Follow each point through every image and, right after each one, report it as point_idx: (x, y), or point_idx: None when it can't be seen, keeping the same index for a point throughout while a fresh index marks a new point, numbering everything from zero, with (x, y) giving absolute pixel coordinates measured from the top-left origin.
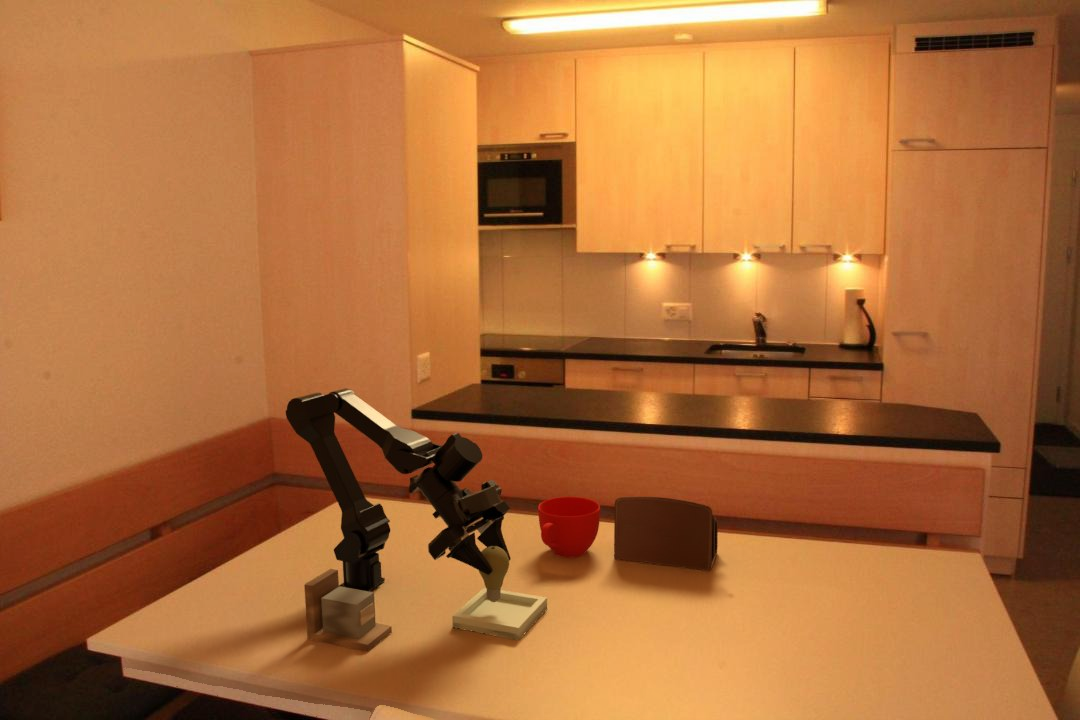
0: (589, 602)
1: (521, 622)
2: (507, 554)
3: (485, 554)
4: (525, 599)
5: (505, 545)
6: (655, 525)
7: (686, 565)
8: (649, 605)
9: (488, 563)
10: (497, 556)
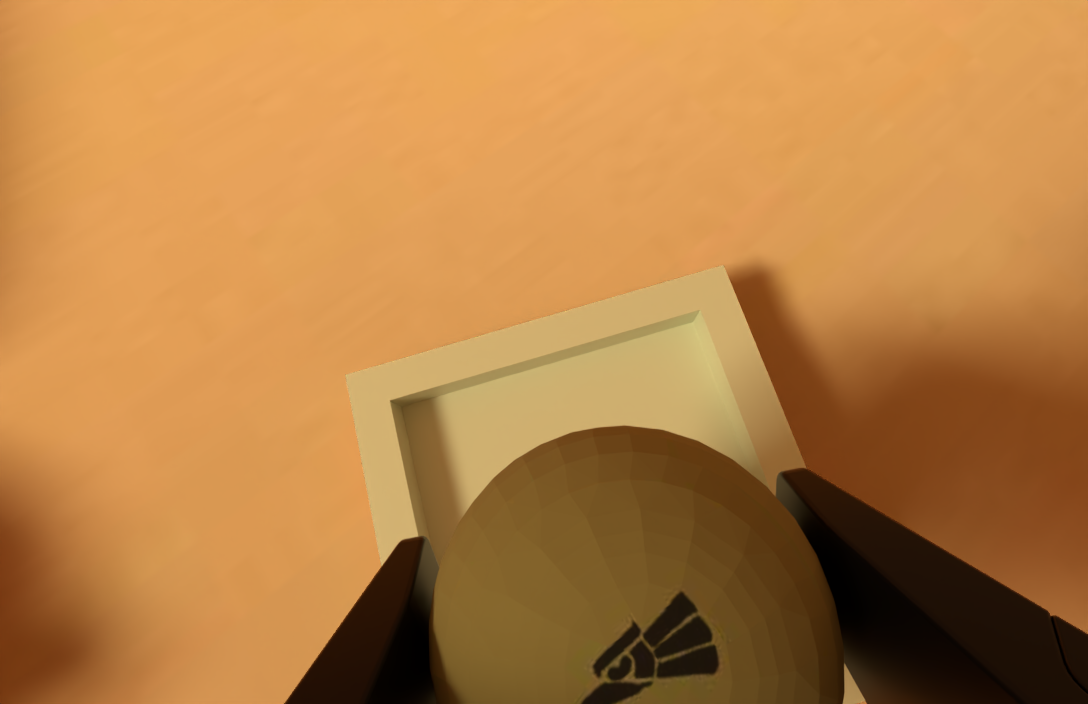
0: (203, 277)
1: (668, 291)
2: (407, 574)
3: (818, 662)
4: (410, 480)
5: (315, 678)
6: None
7: None
8: (116, 79)
9: (834, 524)
10: (708, 481)
